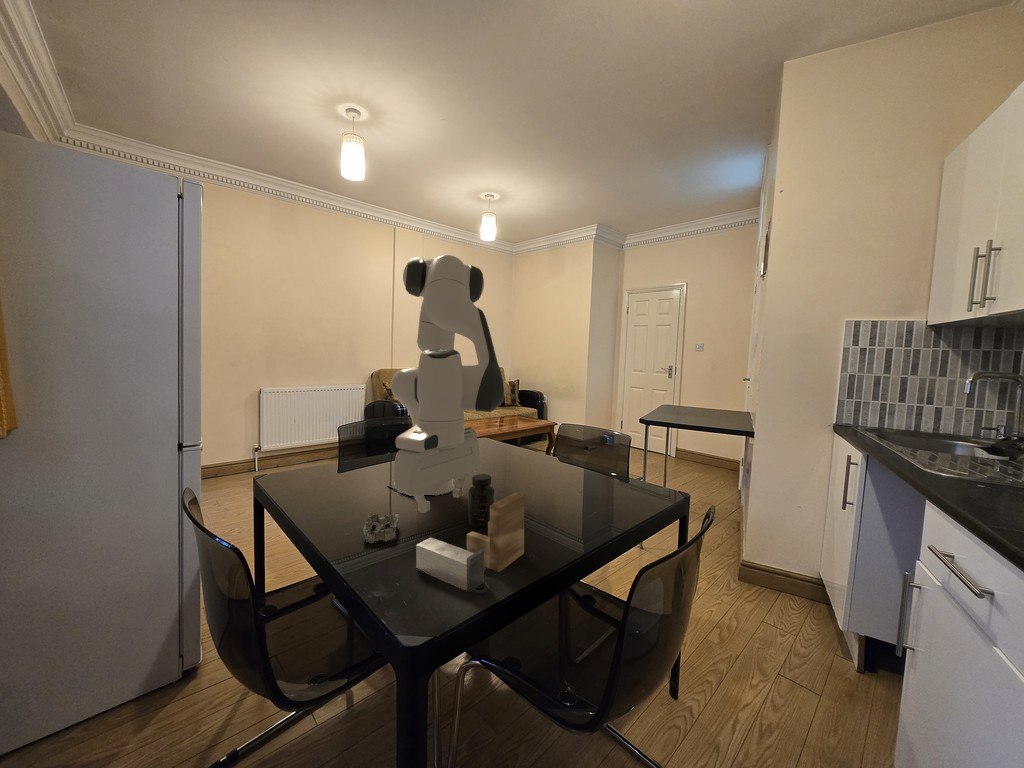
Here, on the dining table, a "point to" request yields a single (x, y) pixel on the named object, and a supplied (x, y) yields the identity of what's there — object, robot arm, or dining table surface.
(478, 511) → the supplement bottle
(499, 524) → the wooden step block
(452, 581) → the light grey rectangular block
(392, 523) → the egg carton
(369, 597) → the dining table surface
